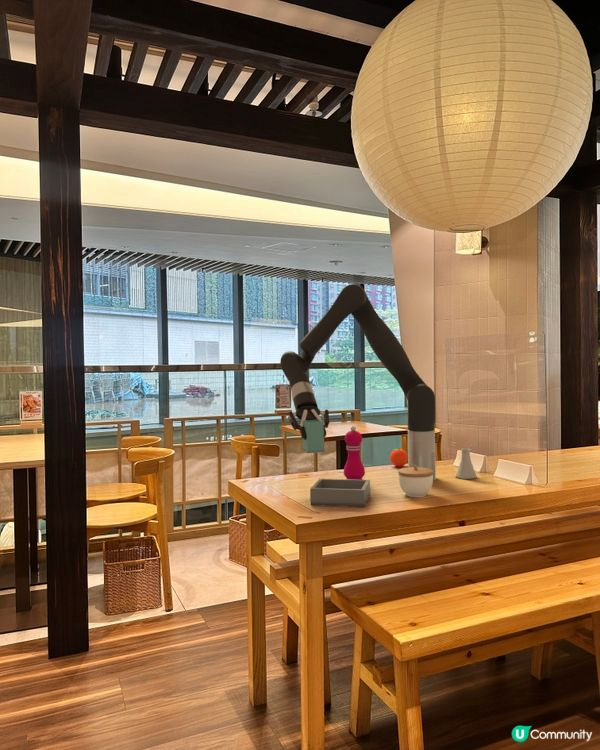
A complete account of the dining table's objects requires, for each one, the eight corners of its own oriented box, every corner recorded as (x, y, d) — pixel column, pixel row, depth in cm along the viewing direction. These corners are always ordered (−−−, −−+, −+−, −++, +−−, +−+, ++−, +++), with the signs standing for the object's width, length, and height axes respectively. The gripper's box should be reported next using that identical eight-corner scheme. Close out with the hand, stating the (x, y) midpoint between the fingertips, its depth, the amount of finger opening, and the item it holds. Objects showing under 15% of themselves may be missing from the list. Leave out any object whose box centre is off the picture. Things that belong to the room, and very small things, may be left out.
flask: (480, 476, 210) (479, 448, 210) (471, 480, 205) (470, 451, 204) (461, 474, 215) (460, 447, 215) (451, 478, 209) (451, 449, 209)
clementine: (385, 467, 231) (384, 449, 231) (390, 464, 237) (390, 446, 237) (405, 468, 227) (404, 450, 227) (410, 465, 233) (410, 447, 233)
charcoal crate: (370, 495, 187) (369, 479, 187) (364, 507, 173) (364, 490, 173) (320, 494, 191) (319, 478, 190) (310, 505, 177) (310, 488, 177)
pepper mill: (364, 487, 198) (362, 427, 197) (342, 487, 199) (341, 427, 198) (366, 482, 205) (364, 424, 204) (345, 482, 206) (343, 424, 205)
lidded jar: (399, 499, 182) (398, 468, 181) (398, 490, 192) (397, 462, 192) (435, 499, 180) (434, 468, 180) (432, 491, 191) (431, 462, 191)
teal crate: (319, 449, 198) (318, 419, 198) (324, 451, 193) (323, 421, 192) (303, 450, 197) (302, 420, 196) (307, 453, 191) (306, 422, 191)
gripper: (284, 391, 199) (295, 431, 188) (325, 389, 203) (338, 428, 192) (281, 406, 205) (291, 446, 193) (321, 404, 208) (333, 442, 197)
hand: (314, 437), depth 193 cm, fingers closed on teal crate, 5 cm apart
